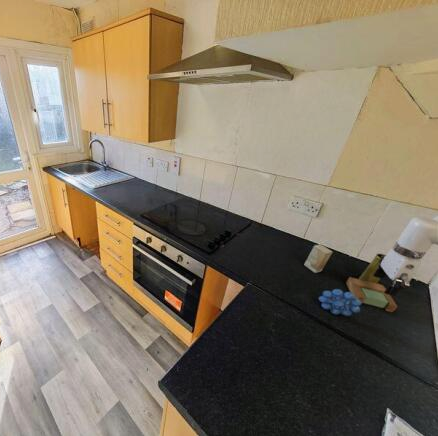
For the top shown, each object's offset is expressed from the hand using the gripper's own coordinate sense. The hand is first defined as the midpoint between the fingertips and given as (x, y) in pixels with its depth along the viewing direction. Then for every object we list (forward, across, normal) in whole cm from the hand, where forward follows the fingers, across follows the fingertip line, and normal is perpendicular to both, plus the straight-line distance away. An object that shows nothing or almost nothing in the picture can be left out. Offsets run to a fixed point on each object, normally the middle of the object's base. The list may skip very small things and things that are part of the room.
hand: (383, 285), depth 89 cm
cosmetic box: (+9, +13, +19) cm, 25 cm away
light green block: (+9, 0, +1) cm, 9 cm away
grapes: (+9, -13, +17) cm, 23 cm away
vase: (+9, +13, -3) cm, 17 cm away
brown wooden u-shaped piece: (+9, +2, +1) cm, 9 cm away
